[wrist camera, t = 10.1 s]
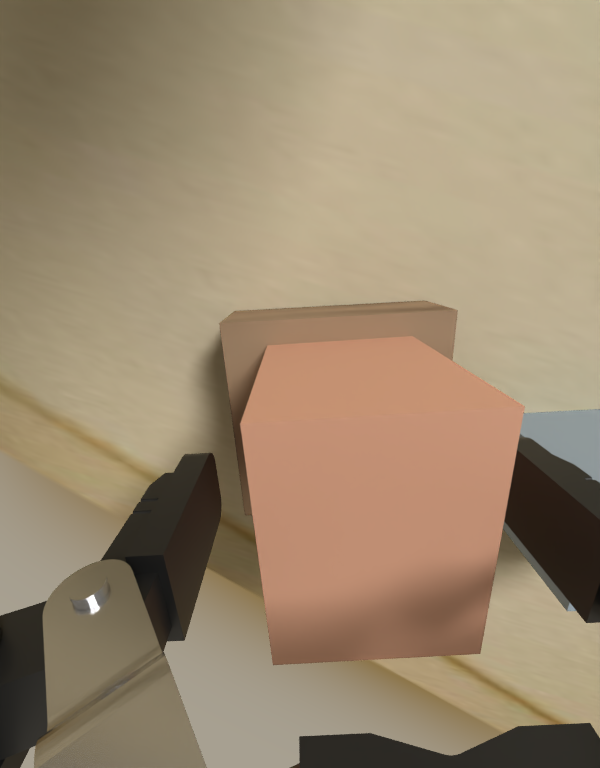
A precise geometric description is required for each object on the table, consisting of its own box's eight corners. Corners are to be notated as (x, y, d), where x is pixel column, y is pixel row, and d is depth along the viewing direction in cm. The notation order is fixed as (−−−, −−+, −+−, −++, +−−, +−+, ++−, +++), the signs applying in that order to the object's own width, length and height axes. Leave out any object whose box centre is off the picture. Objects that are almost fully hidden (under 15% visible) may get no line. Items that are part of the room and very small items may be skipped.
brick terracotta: (267, 345, 12) (240, 424, 6) (412, 335, 12) (524, 406, 6) (282, 500, 14) (273, 665, 8) (404, 493, 14) (480, 653, 8)
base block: (234, 311, 14) (219, 323, 11) (425, 300, 14) (457, 310, 11) (253, 472, 17) (245, 515, 14) (413, 464, 17) (437, 505, 14)
